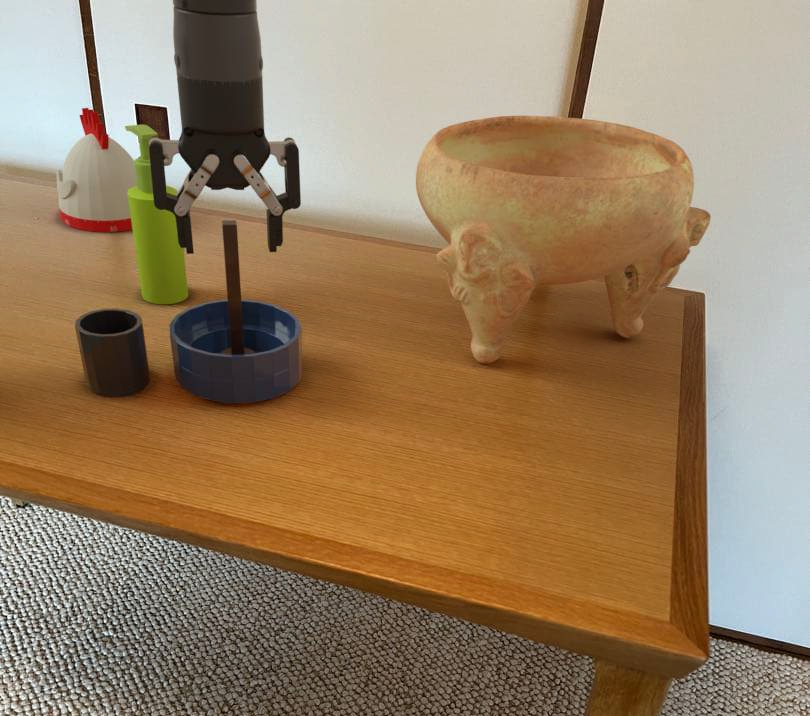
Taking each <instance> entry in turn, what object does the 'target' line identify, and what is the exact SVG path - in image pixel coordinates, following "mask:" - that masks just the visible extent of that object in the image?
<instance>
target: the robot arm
mask: <svg viewBox="0 0 810 716" xmlns="http://www.w3.org/2000/svg"><path fill="white" fill-rule="evenodd" d="M172 5H173V29H172V30H173V33H172V37H173V50H174V56H173V58H174V59H173V61H174V65H175V73H176V79H177V80H176V81H177V93H178V102H179V111H180V125H181V133H180V136H179V138H178V139H162V138H161V137H159V135H158V136H152V137H151V138H150V140H149V154H150V165H151V176H152V187H153V197H154V205H155V207H156V208H157V209H159V210H164V209H165V210H167V211H170V212H172V213H173V214H174V215H175V218H176V225H177V235H178V243H179V245H180V247H181V248H184V249H185V251H186V255H190V254H192V255H194V254H195V251H194V241H193V232H192V221H191V211H190V208H191V207H192V205H193V204H194V202H195V200H197V199H198V198H199V196H200V195H201V193H202V191H203V190H204V188H205V187H207V188H210V190H211V191H221V190H225V189H231V190H235V191H245V189H246V188H248V187H251V188H252V190H253V191H254V192H255V193H256V195H257V196H258V198H259V199H260V200H261V201H262V202H263V204H264V205H265V206H266V207H267V208H266V234H267V235H266V236H267V237H266V238H267V247H268V251H269V253H277V252H278V247H282V244H283V242H284V230H283V229H284V228H283V216H284V214H285V212H288V211H289V210H292V209H293V210H297V209H299V208H300V207H301V204H302V201H301V199H302V198H301V175H300V174H301V172H300V150H299V147H298V144H297V143H296V141H295V139H294V138H293V137H290V136H289V137H285V138H284V140H282V141H268V138H267V137H266V133H265V115H264V114H265V112H264V87H263V86H264V84H263V83H264V81H263V69H264V59H263V56H262V55H263V54H262V39H261V31H260V26H259V19H258V11H257V10H258V7H257V6H258V3H257V0H172ZM177 154H179V155H180V157H181V159H183V161H184V162H185V164H186V165H187V166H188V167H189V168H190V170H189V172H188V173H187V175H185V176H186V177H185V178H184V180H183V183H182V184H181V187H180V188H179V190H178V191H177V192H178V193H177V195H176V196H175V195H173V194H170V193H167V192H166V186H167V179H166V180H165V178H166V170H165V169H166V168H165V167H169V166H171V165H172V164H173V161H174V160H173V159H174V156H175V155H177ZM271 155H272V156H274V157H275V159H276V161H277V164H278V165H279V166H280V167H282V168H283V171H284V172H283V173H284V187H285V188H284V190H285V192H282V193H279V194H278V195H277V194H276V192H275V191H274V190H273V188H272V186H271V185H270V183H269V182H268V181H267V179H266V178H265V176H264V175H263V173H262V172H261V171H262V169H263V167H264V166H265V164H266V163H267V161H268V160H269V158H270V156H271Z"/></svg>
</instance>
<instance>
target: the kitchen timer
mask: <svg viewBox="0 0 810 716" xmlns="http://www.w3.org/2000/svg"><path fill="white" fill-rule="evenodd" d="M81 112H82V114H79V120H80V123H81V126H82V129H83V130H82V131H83V133H84V136H83V137H81V138H80V139H79V140H78V141H76V142H75V144H74V145H73V146H72V147H71V148H70V150H69V152H68V153H67V155H66V158H65V160H64V162H63V166H62V170H60V169H56V170H55V172H56V174H55V175H56V191H57V195H58V209H59V214H60V218H61V219H60V220H61V221H62V222H63V223H64V224H65V225H67V226H68V227H71V228H74V229H77V230H81V231H86V232H94V233H95V232H97V233H115V232H124V231H125V232H126V231H133V229H132V222H131V215H130V208H129V201H128V194H127V192H128V190H129V189H131V188H133V187H135V186H137V180H136V173H135V165H134V161H135V159H134V158H133V157H132V156H131V155H130V153H129V152H128V151H127V150H126V149H125V148H124V147H123V146H122V145H121V144H119V143H118V142H117V141H116V140H115V139H113V138H111V136H110V135H109V133H106V134H105V129H104V122H100V119H99V114H98V111H94V108H93V109H89V107H82V108H81Z"/></svg>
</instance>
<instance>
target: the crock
mask: <svg viewBox="0 0 810 716" xmlns="http://www.w3.org/2000/svg"><path fill="white" fill-rule="evenodd" d="M74 322H75V323H74V329H75V334H76V340H77V344H78V349H79V354H80V358H81V359H80V360H81V365H82V368H83V369H82V370H83V372H84V378H85V382H86V385H87V388H88V389H89V390H90V391H91V392H92V393H93V394H96V395H98V396H102V397H108V398H109V397H110V398H119V397H128V396H131V395H136V394H137V393H141V392H143V391H144V390H145V389H147V387H149V385H150V384H151V371H150V366H149V359H148V352H147V351H148V350H147V343H146V338H145V337H146V336H145V330H144V322H143V317H141V315H139V314H138V313H137V312H135V311H131V310H129V309H123V308H116V307H115V308H100V309H95V310H91V311H89V312H86V313H83V314H81V315H80V316H79V317H78V318H76V320H75V321H74Z"/></svg>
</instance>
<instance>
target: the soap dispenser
mask: <svg viewBox="0 0 810 716" xmlns="http://www.w3.org/2000/svg"><path fill="white" fill-rule="evenodd" d="M124 129H125V131H126V132H131V133H132V134H134V135H135V136H137V138H138V145H139V154H140V156H138V157H137V158H135V159H134V165H135V173H136V180H137V186H135V187H133V188H131V189H129V190H128V192H127V194H128V201H129V208H130V215H131V222H132V235H133V243H134V249H135V256H136V263H137V270H138V271H137V272H138V279H139V285H140V292H141V298H142V299H143V300H144V301H146V302H147V303H149V304H154V305H162V306H163V305H174V304H178V303H182V302H184V301H185V300H186V299H187V298H188V297H189V288H188V287H189V286H188V279H187V268H186V260H185V259H186V258H185V248H181V247H180V245H179V243H178V235H177V225H176V218H175V215H174V214H173V213H172V212H170V211H167V210H165V209H164V210H159V209H157V208H156V207H155V205H154V197H153V187H152V176H151V165H150V154H149V140H150V138H151V137H152V136H158V137H159V134H158V132H157V131H155V130H154V129H153V128H151V126H149V125H147V124H134V125H132V124H131V125H125V126H124ZM165 180H166V181H167V178H166V177H165ZM166 192H167V193H170V194H173V195H175V196H176V195H177V193H178V192H179V191H178V190H177V189H176V188H175V187H172V186H170V185H166Z"/></svg>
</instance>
